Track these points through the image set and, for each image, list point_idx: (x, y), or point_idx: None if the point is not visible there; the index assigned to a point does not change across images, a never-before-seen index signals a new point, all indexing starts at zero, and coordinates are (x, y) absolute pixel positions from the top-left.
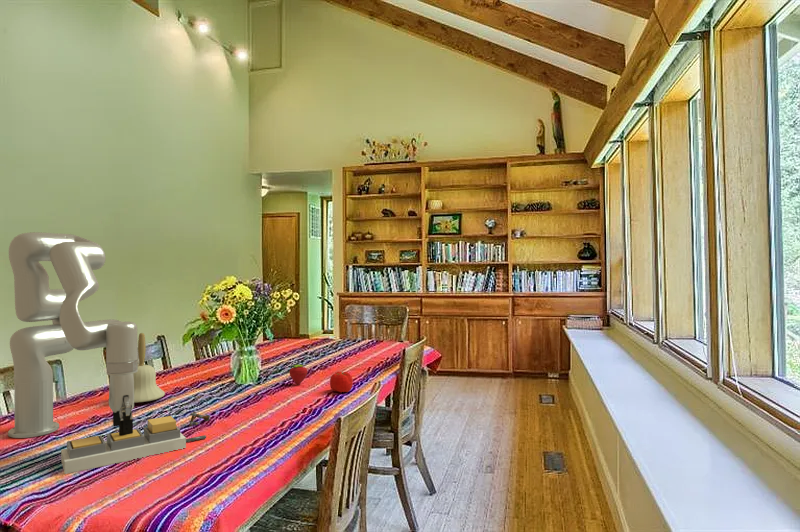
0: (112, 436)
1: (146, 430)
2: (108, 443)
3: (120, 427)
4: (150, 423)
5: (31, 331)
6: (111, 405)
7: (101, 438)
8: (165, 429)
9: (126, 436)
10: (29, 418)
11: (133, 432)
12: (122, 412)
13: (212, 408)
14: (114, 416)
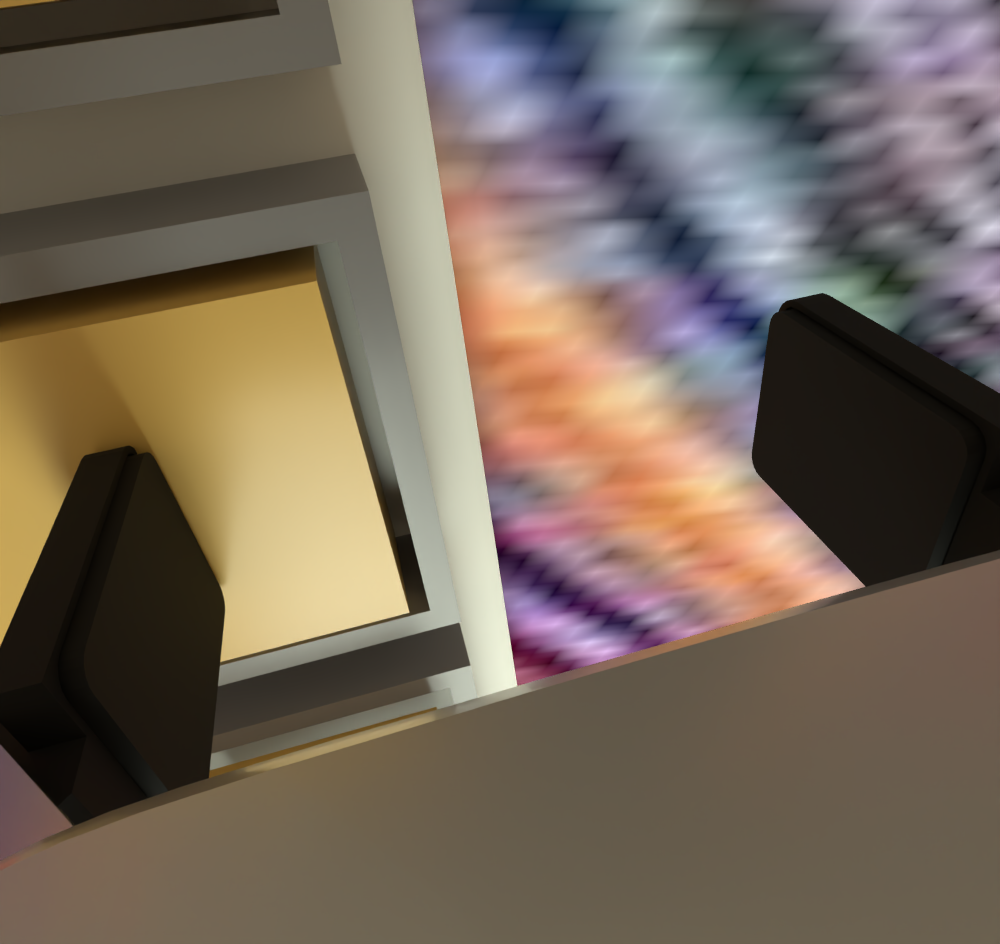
0: (96, 321)
1: (323, 710)
2: (147, 198)
3: (46, 576)
4: None
5: None
6: (570, 939)
7: (50, 72)
8: None
9: (15, 553)
10: None
11: (238, 611)
12: (906, 569)
13: None
14: (902, 404)
